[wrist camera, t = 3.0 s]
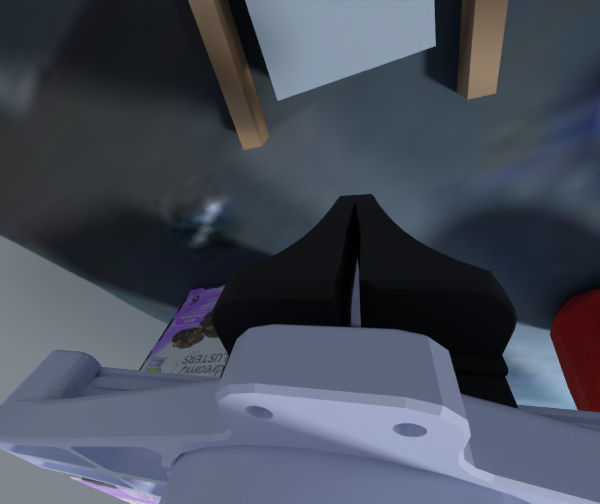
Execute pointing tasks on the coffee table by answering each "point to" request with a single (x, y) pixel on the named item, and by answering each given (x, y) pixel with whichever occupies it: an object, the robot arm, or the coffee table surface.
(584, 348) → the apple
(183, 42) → the coffee table surface
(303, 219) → the coffee table surface
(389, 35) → the keeper
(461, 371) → the robot arm
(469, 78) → the track
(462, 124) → the coffee table surface
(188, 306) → the candy box
